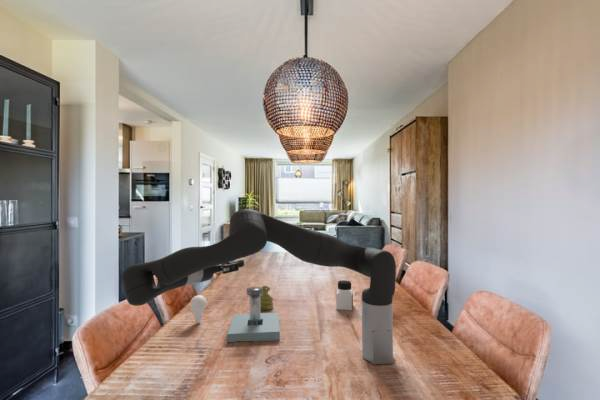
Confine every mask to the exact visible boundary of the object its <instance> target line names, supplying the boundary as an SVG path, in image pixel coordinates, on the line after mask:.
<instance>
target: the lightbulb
mask: <svg viewBox="0 0 600 400" xmlns="http://www.w3.org/2000/svg"><path fill="white" fill-rule="evenodd" d="M189 306H190V308H191V310H192V312H193V316H194V323H196V324H200V323H202V320H203V313H204V310H205V308H206V306H207V299H206V298H205V296H204V295H200V294H199V295H195V296H193V297H192V299H191V300H190V302H189Z"/></svg>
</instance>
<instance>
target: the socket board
mask: <svg viewBox="0 0 600 400" xmlns="http://www.w3.org/2000/svg"><path fill="white" fill-rule="evenodd" d="M260 316H261V325H251V326H250V313H234V314H233V317H232V320H231V322H230V324H229V327H228V330H227V334H226V343H227V342H233V343H239V342H238V341H253V342H267V341H269V342H270V341H272V342H273V341H280V340H281V339H280V338H281V336H280V335H281V334H280V333H281V332H280V313H279V312H260ZM236 341H237V342H236Z"/></svg>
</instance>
